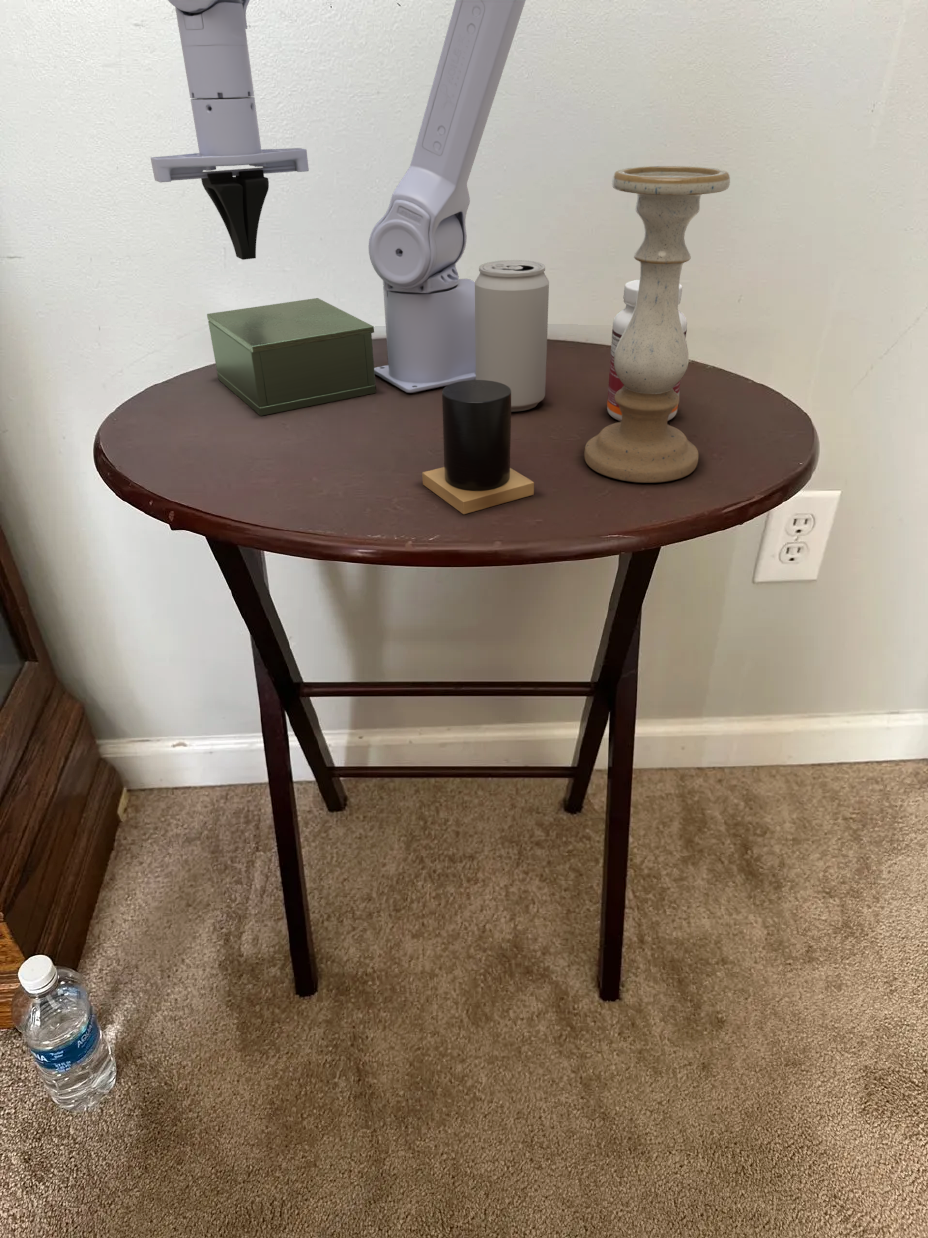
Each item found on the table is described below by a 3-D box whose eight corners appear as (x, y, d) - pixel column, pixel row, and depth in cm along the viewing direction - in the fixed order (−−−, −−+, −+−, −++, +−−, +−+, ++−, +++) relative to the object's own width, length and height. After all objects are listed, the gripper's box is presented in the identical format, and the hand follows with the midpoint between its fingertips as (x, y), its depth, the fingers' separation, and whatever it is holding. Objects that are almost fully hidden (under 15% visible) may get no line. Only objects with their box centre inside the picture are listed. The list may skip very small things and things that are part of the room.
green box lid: (374, 332, 78) (374, 326, 77) (253, 353, 73) (251, 346, 72) (318, 303, 87) (317, 297, 87) (207, 319, 82) (206, 313, 82)
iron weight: (432, 473, 63) (429, 387, 59) (487, 459, 65) (487, 375, 61) (466, 496, 59) (464, 406, 56) (522, 481, 61) (524, 393, 58)
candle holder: (561, 462, 66) (576, 172, 55) (626, 432, 72) (652, 161, 60) (656, 495, 61) (694, 182, 50) (718, 459, 67) (765, 169, 55)
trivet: (490, 467, 66) (490, 454, 66) (533, 494, 62) (534, 482, 61) (422, 484, 64) (422, 472, 63) (463, 514, 59) (463, 501, 59)
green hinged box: (376, 392, 81) (371, 331, 78) (260, 416, 76) (250, 351, 73) (324, 360, 90) (318, 304, 87) (218, 379, 85) (207, 320, 82)
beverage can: (540, 416, 75) (545, 273, 69) (469, 412, 76) (467, 271, 70) (548, 393, 80) (554, 258, 74) (482, 389, 81) (482, 256, 75)
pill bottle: (653, 399, 79) (667, 273, 72) (690, 421, 74) (708, 288, 68) (593, 408, 77) (602, 280, 71) (627, 431, 72) (640, 295, 66)
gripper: (282, 94, 83) (299, 243, 91) (131, 99, 77) (162, 259, 84) (309, 96, 78) (325, 253, 85) (150, 101, 72) (182, 271, 79)
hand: (246, 257), depth 85 cm, fingers closed
